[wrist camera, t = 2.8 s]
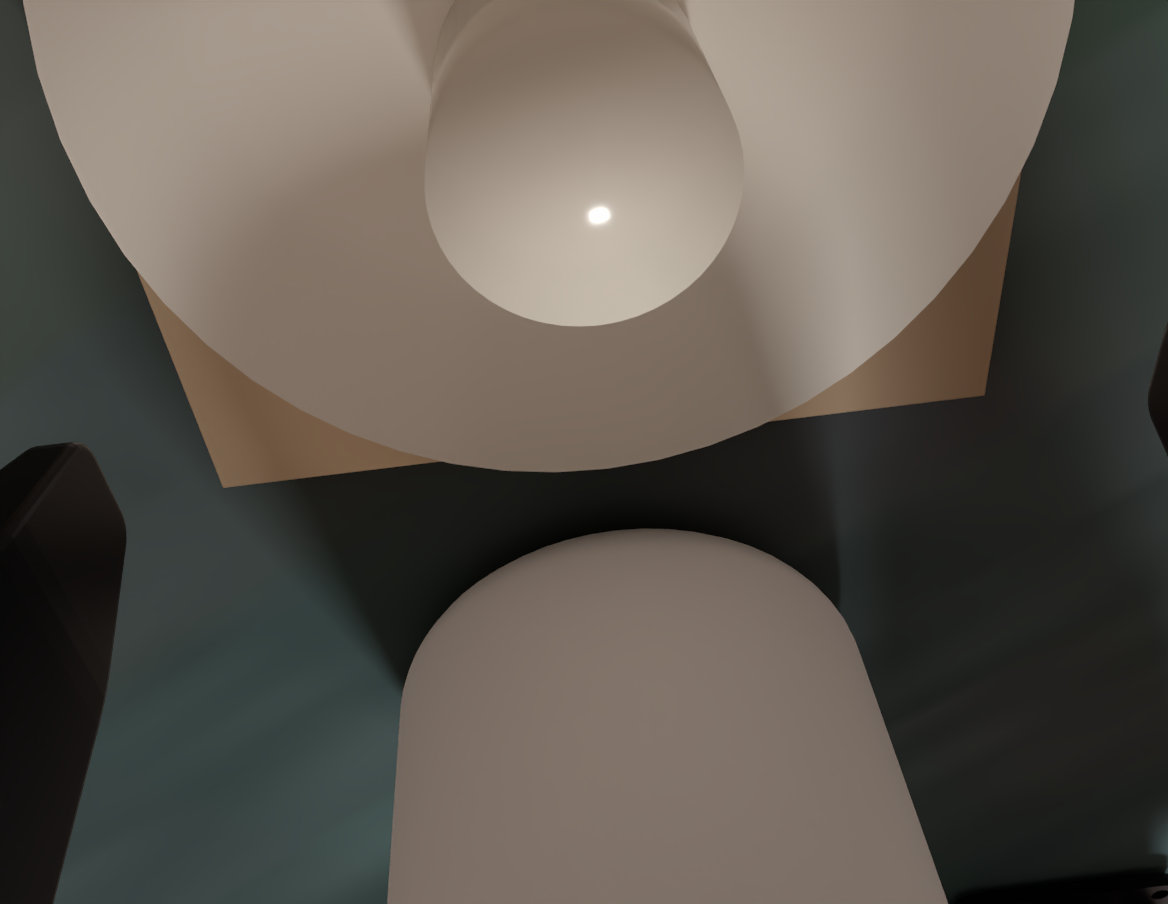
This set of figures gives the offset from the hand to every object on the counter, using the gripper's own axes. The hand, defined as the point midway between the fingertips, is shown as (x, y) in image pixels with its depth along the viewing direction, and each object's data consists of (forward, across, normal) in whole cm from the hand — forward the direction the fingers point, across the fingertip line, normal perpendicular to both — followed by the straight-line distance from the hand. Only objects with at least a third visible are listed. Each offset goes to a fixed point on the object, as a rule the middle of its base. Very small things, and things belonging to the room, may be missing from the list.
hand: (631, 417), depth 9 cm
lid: (+8, 0, 0) cm, 9 cm away
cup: (+9, 0, +14) cm, 17 cm away
